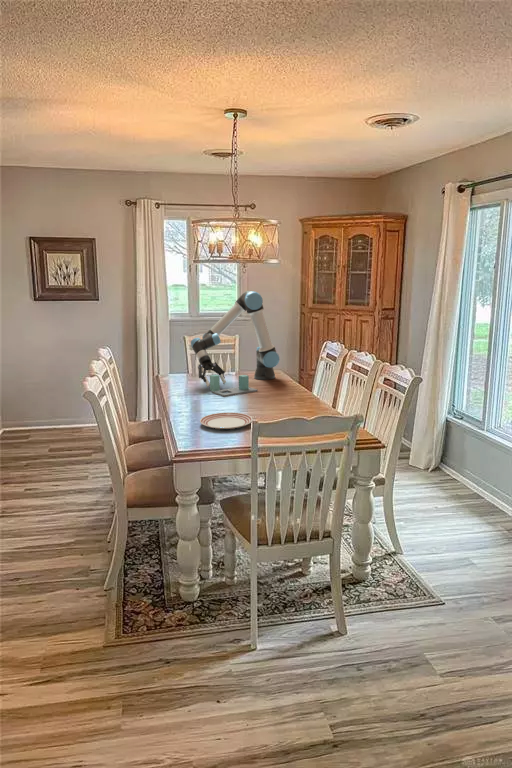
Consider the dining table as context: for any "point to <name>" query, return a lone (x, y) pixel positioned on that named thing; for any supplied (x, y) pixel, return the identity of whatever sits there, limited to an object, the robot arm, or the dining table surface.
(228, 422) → the dinner plate
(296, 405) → the dining table surface
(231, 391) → the grey slotted board
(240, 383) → the block
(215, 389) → the cylinder
